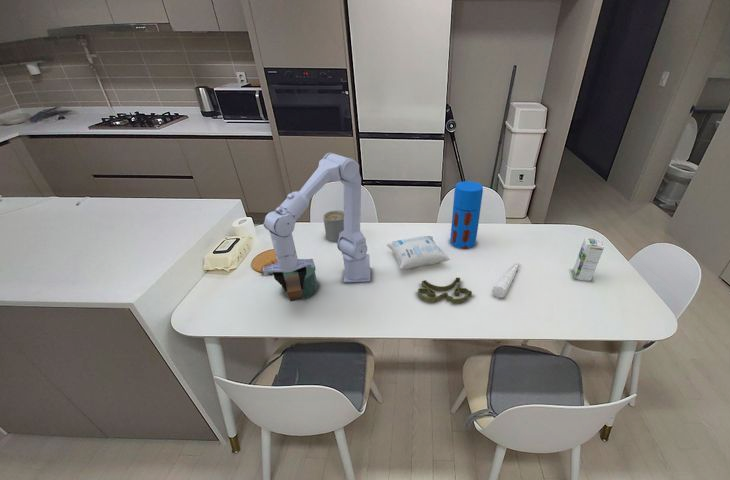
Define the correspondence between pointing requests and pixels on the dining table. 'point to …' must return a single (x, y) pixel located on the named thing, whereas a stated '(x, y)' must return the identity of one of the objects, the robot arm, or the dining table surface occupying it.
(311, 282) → the pot
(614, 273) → the dining table surface
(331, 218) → the coffee mug
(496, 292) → the unicorn horn
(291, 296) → the brown rectangular block
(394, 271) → the dining table surface
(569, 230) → the dining table surface
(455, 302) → the cookie cutter
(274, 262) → the pastry
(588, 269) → the syrup box
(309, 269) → the pot lid
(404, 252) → the pouch
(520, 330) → the dining table surface
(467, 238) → the thermos
